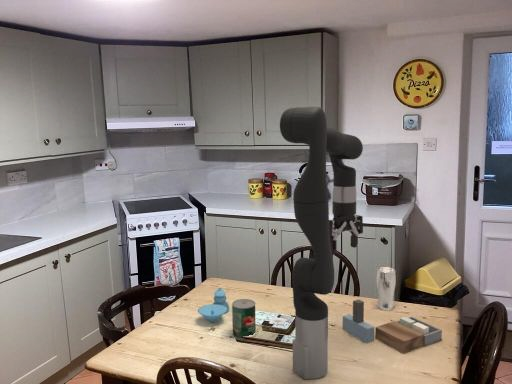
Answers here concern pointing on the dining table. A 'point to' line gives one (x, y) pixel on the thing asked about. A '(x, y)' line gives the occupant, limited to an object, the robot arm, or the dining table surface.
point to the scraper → (358, 323)
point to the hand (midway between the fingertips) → (343, 248)
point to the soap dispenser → (215, 307)
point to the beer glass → (385, 287)
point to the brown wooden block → (399, 336)
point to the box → (433, 335)
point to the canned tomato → (243, 318)
